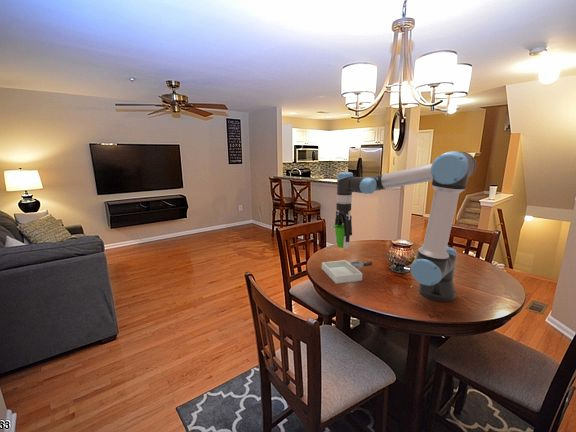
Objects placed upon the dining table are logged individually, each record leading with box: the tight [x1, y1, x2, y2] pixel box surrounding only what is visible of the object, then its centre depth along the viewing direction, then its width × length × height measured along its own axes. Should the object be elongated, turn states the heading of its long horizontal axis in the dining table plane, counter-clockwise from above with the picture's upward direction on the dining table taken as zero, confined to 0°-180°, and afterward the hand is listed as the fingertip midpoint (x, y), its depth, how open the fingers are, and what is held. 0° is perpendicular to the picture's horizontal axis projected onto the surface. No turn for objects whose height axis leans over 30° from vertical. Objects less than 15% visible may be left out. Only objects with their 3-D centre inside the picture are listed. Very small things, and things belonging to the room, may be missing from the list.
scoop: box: [349, 260, 373, 269], centre depth 166 cm, size 12×5×2 cm, turn 105°
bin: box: [321, 259, 364, 285], centre depth 153 cm, size 20×15×4 cm
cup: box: [333, 223, 345, 249], centre depth 149 cm, size 9×9×11 cm
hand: (342, 244), depth 150 cm, fingers closed on cup, 9 cm apart
